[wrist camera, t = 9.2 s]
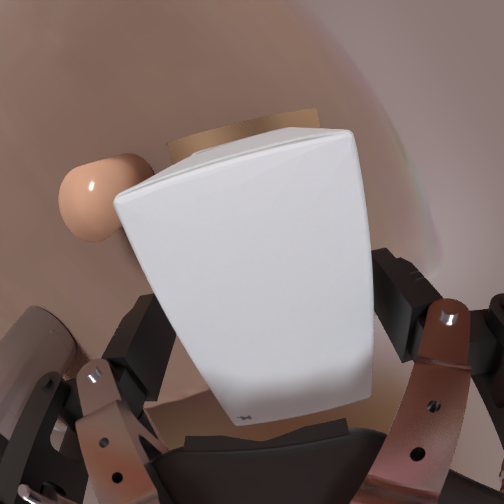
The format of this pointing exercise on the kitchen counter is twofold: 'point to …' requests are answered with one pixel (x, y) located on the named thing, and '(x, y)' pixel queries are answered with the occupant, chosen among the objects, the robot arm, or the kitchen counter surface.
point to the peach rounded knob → (99, 194)
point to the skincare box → (264, 269)
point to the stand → (240, 132)
